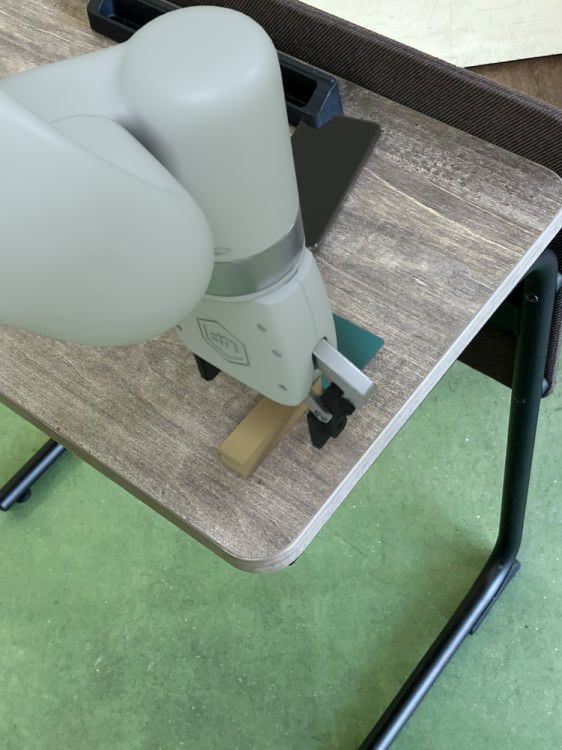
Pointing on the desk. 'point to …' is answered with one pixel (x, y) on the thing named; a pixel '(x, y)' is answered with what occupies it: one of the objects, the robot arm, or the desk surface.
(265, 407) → the spatula
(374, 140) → the smartphone
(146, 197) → the robot arm
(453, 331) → the desk surface
